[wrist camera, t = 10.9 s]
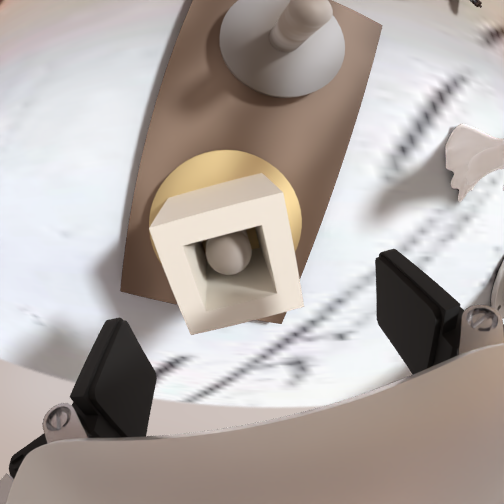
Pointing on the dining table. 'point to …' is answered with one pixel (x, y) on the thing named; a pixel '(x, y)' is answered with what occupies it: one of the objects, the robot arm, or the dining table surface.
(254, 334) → the dining table surface
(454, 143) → the figurine
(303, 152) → the workboard
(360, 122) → the dining table surface
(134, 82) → the dining table surface
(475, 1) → the toy
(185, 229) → the collar
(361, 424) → the robot arm
